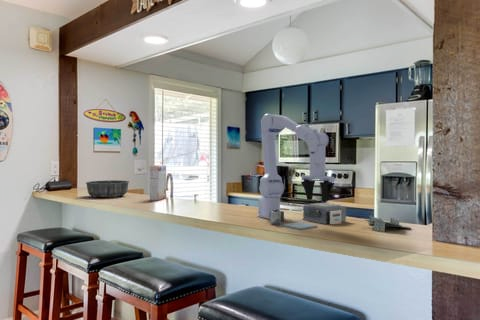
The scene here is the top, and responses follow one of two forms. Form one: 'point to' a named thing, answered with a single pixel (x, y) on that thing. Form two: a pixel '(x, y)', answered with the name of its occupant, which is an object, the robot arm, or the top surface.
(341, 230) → the top surface
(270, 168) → the robot arm
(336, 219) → the label tile
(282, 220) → the rubber block
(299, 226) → the pad
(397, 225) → the metal bracket
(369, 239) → the top surface
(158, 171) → the cracker box
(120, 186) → the bundt pan
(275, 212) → the cylinder
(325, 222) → the box
